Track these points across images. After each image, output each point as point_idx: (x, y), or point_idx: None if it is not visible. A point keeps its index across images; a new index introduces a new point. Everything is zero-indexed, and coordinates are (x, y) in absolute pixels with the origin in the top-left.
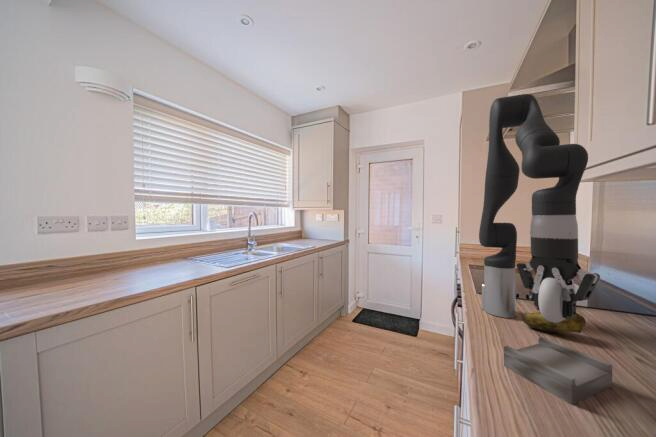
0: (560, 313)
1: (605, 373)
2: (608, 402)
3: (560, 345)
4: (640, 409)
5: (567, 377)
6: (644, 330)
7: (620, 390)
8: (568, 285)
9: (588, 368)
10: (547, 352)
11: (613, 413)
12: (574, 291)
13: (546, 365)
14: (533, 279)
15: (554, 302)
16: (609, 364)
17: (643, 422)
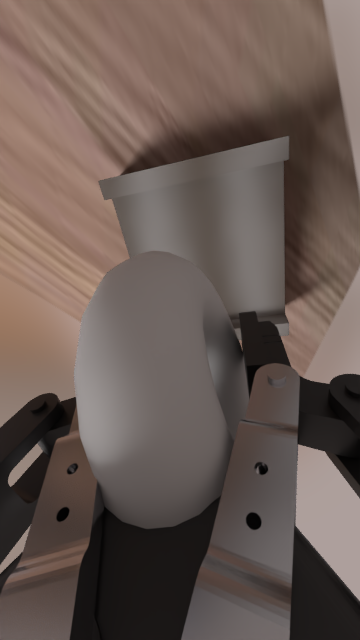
0: None
1: (280, 174)
2: (301, 230)
3: (160, 181)
4: (341, 182)
5: (280, 333)
6: None
7: (290, 135)
8: (295, 506)
9: (250, 197)
10: (162, 227)
11: (320, 259)
12: (297, 421)
13: (236, 331)
14: (17, 449)
15: None
16: (285, 147)
17: (357, 230)
